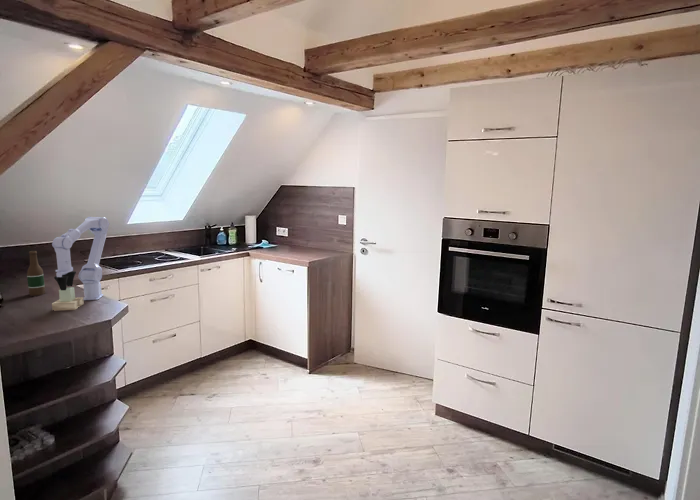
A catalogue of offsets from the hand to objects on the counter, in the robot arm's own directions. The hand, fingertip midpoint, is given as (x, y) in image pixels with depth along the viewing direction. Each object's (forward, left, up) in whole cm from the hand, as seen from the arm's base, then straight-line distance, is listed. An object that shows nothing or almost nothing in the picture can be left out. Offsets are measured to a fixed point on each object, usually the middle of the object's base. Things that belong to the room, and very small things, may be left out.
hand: (66, 288), depth 215 cm
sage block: (0, 0, -6) cm, 6 cm away
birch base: (0, 0, -10) cm, 10 cm away
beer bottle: (-29, -26, -10) cm, 40 cm away
